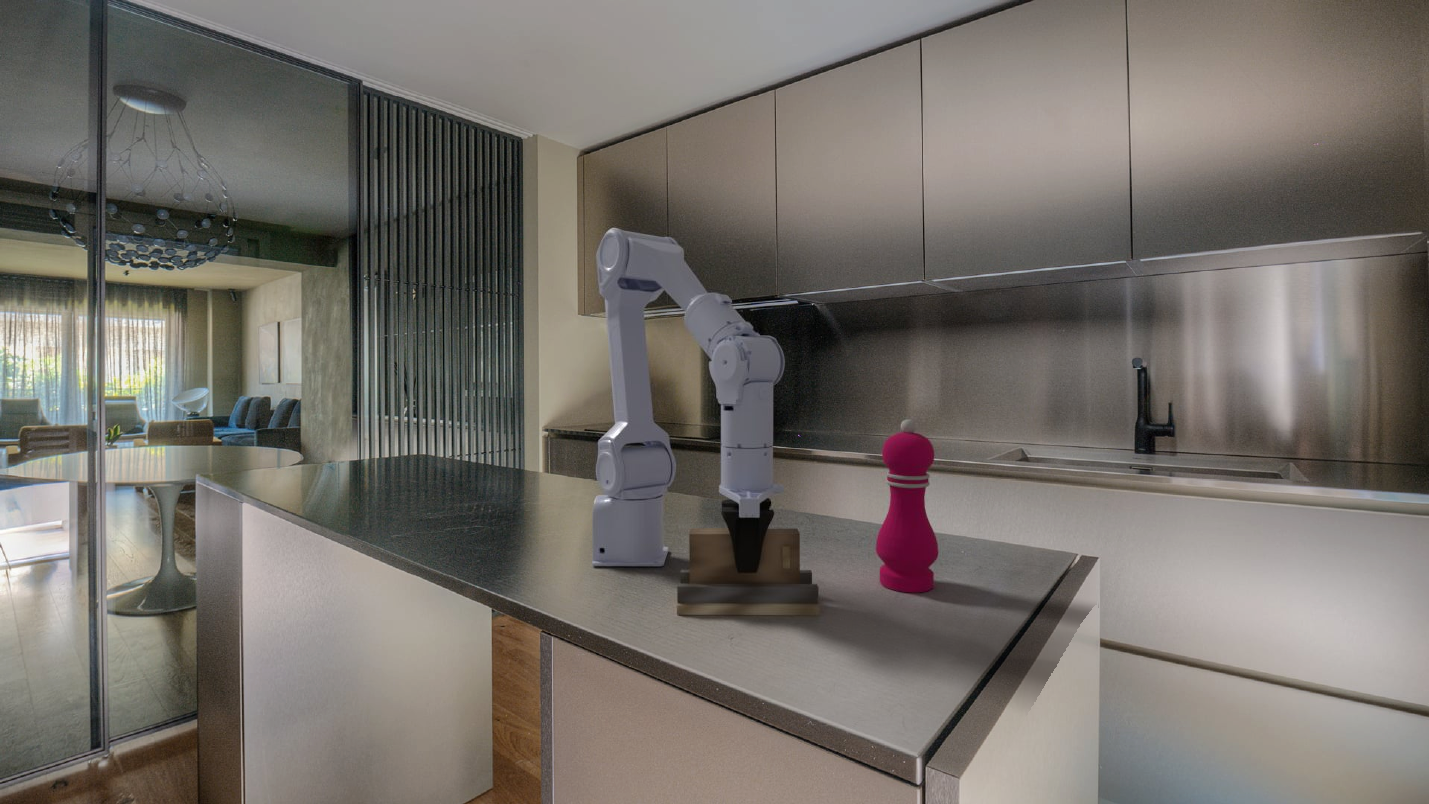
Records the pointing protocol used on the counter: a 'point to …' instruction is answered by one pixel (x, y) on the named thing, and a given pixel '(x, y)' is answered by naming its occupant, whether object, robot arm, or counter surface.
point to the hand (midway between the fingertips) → (746, 567)
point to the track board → (747, 598)
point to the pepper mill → (907, 514)
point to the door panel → (718, 562)
